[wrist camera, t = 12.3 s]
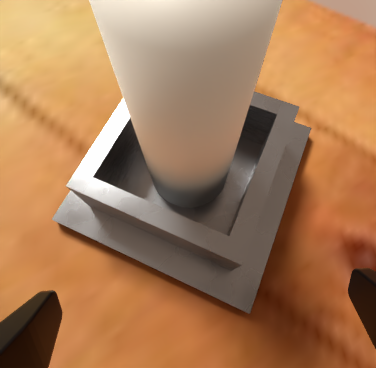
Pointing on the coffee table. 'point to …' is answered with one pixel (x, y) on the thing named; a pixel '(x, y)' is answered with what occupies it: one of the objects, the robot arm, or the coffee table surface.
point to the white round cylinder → (187, 83)
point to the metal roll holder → (195, 216)
